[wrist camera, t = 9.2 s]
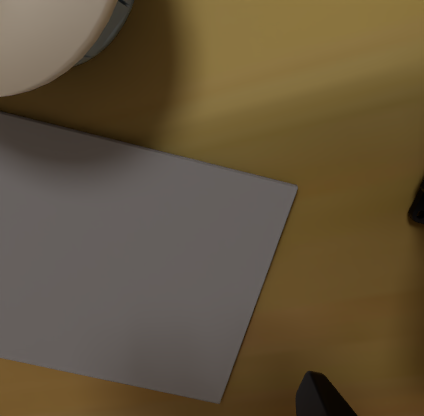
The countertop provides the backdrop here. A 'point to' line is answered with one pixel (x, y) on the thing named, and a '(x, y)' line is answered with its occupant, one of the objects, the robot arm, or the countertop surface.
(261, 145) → the countertop surface
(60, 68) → the lid
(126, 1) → the bowl
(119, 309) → the mat
